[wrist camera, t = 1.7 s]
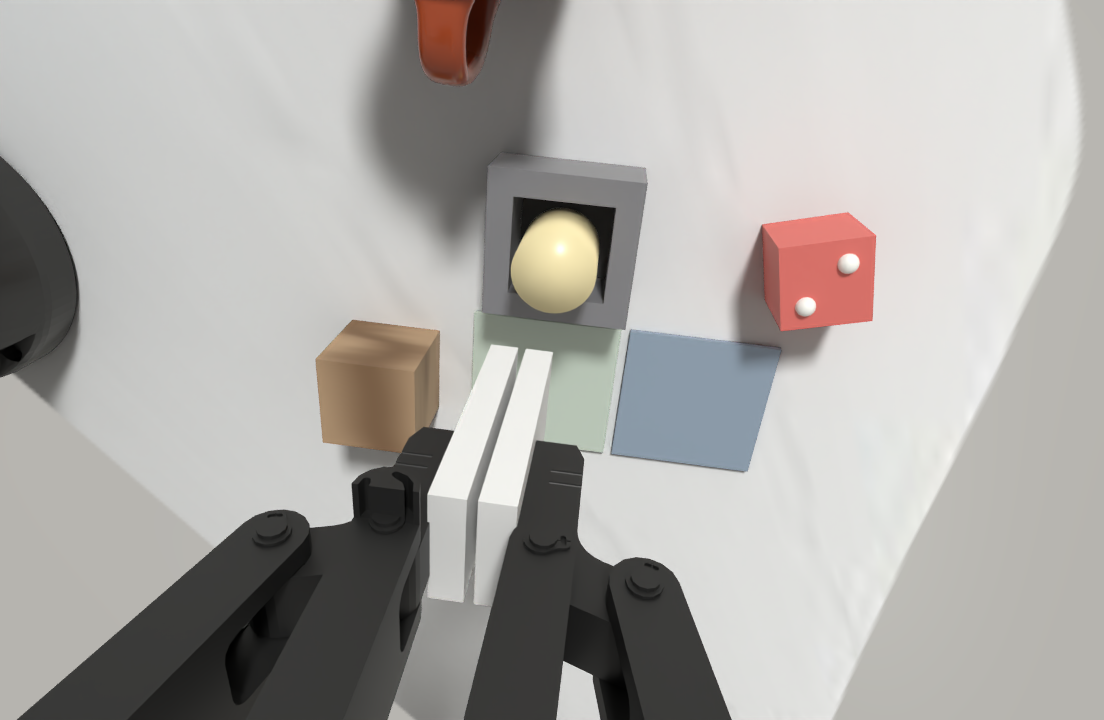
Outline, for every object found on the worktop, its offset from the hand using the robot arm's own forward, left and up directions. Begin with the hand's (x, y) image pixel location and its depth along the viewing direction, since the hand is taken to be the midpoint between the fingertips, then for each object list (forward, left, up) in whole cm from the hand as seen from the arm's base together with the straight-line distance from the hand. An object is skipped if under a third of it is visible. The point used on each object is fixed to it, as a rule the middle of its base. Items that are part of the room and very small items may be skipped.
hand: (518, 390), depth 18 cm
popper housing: (0, 0, -16) cm, 16 cm away
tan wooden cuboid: (-9, -9, -17) cm, 21 cm away
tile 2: (+8, -9, -16) cm, 20 cm away
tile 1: (-1, -9, -16) cm, 19 cm away
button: (0, 0, -14) cm, 14 cm away
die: (+12, 0, -17) cm, 20 cm away
